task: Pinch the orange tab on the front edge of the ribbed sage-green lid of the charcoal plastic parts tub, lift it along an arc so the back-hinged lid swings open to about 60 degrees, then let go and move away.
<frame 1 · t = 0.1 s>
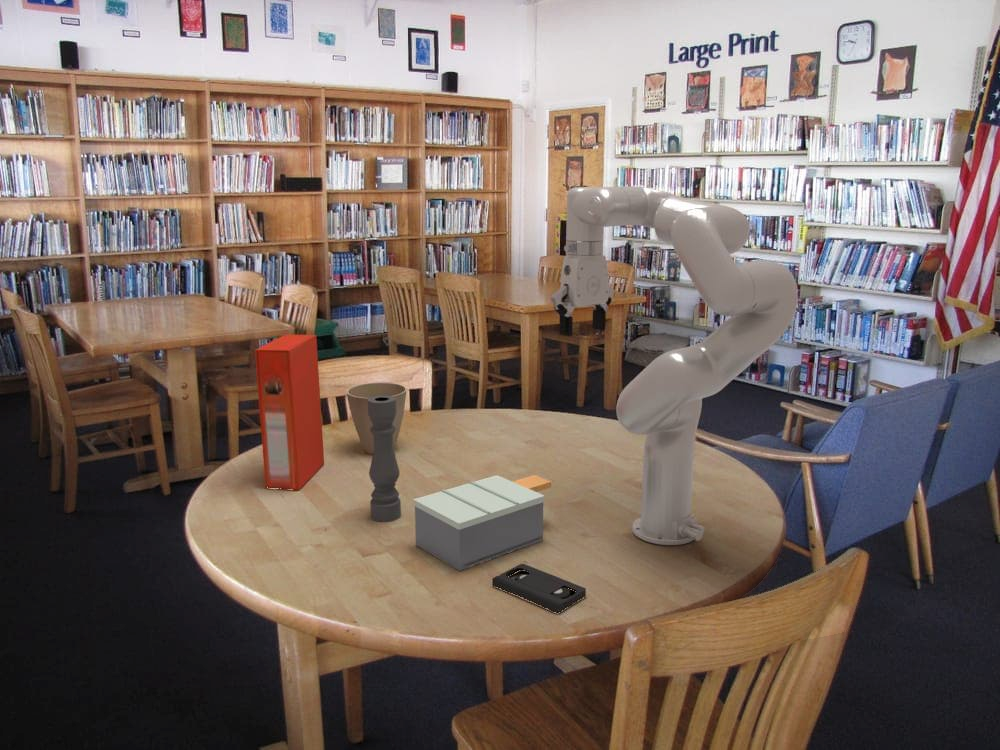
hand: (582, 332, 176), 37 cm above the table, tool pointing down, fingers open, 9 cm apart
vhs tape: (538, 595, 144), on the table
plant pot: (378, 450, 216), on the table
tub: (479, 542, 163), on the table
lid: (491, 496, 163), point 9 cm above the table, hinge at 0.0°
candle holder: (385, 516, 175), on the table
file binder: (295, 477, 198), on the table
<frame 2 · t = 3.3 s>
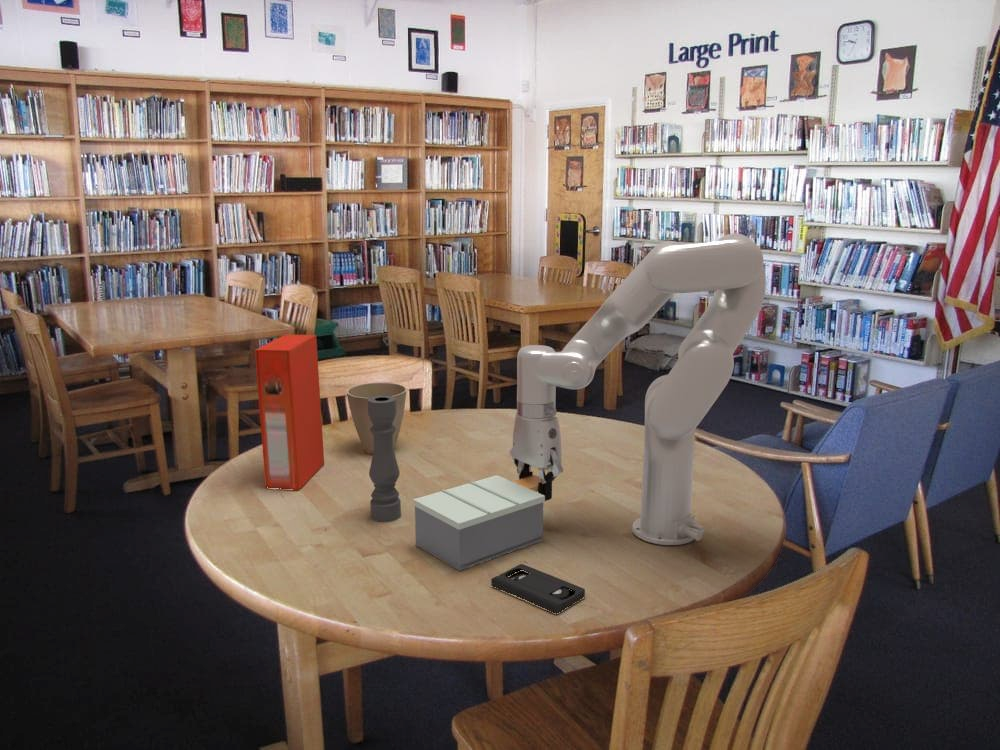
hand: (535, 495, 170), 6 cm above the table, tool pointing down, fingers closed on lid, 5 cm apart
lid: (491, 496, 163), point 9 cm above the table, hinge at 0.0°, touching gripper
everything else where it was.
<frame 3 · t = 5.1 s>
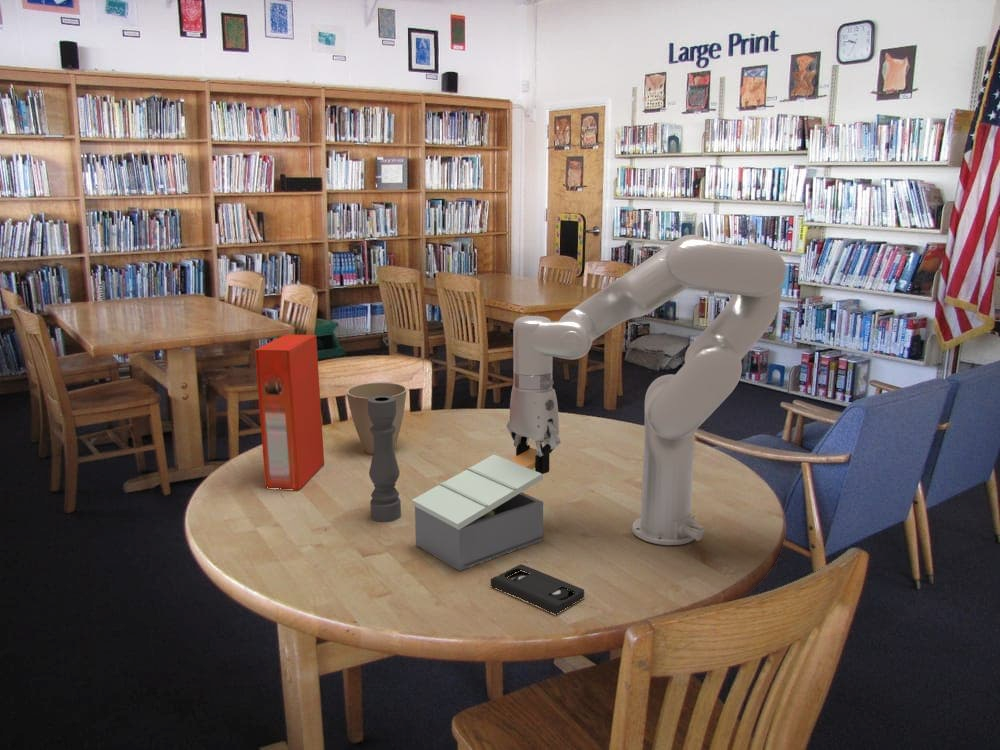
hand: (532, 468, 168), 12 cm above the table, tool pointing down, fingers closed on lid, 5 cm apart
lid: (489, 481, 162), point 12 cm above the table, hinge at 13.2°, touching gripper
everything else where it was.
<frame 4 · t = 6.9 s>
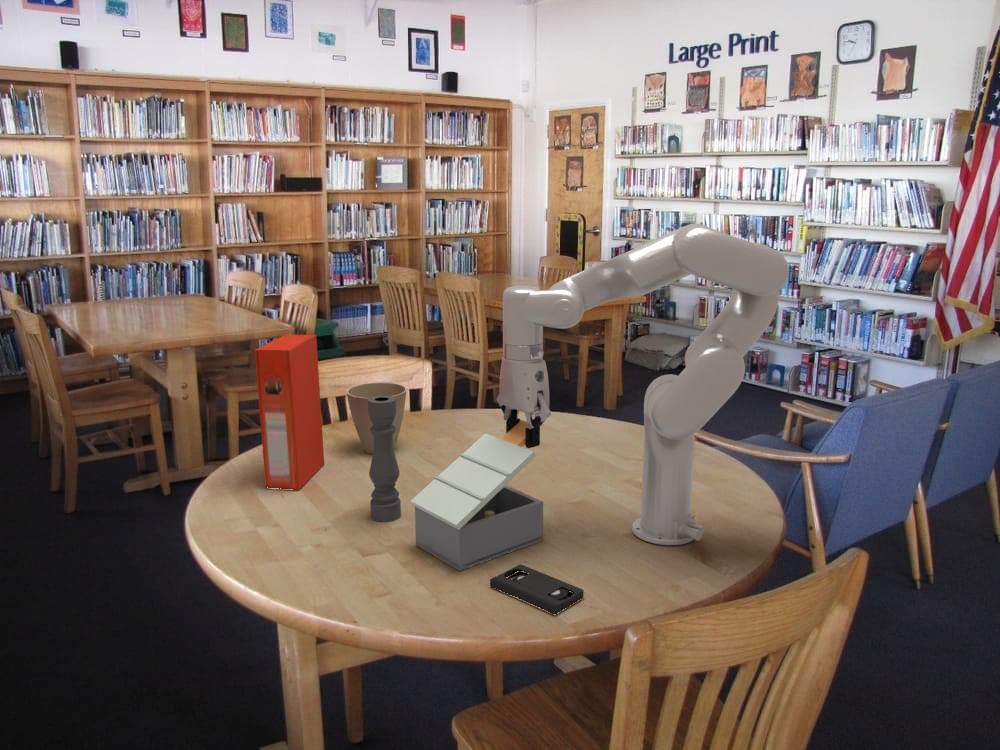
hand: (522, 442, 165), 18 cm above the table, tool pointing down, fingers closed on lid, 5 cm apart
lid: (483, 467, 160), point 15 cm above the table, hinge at 28.2°, touching gripper
everything else where it was.
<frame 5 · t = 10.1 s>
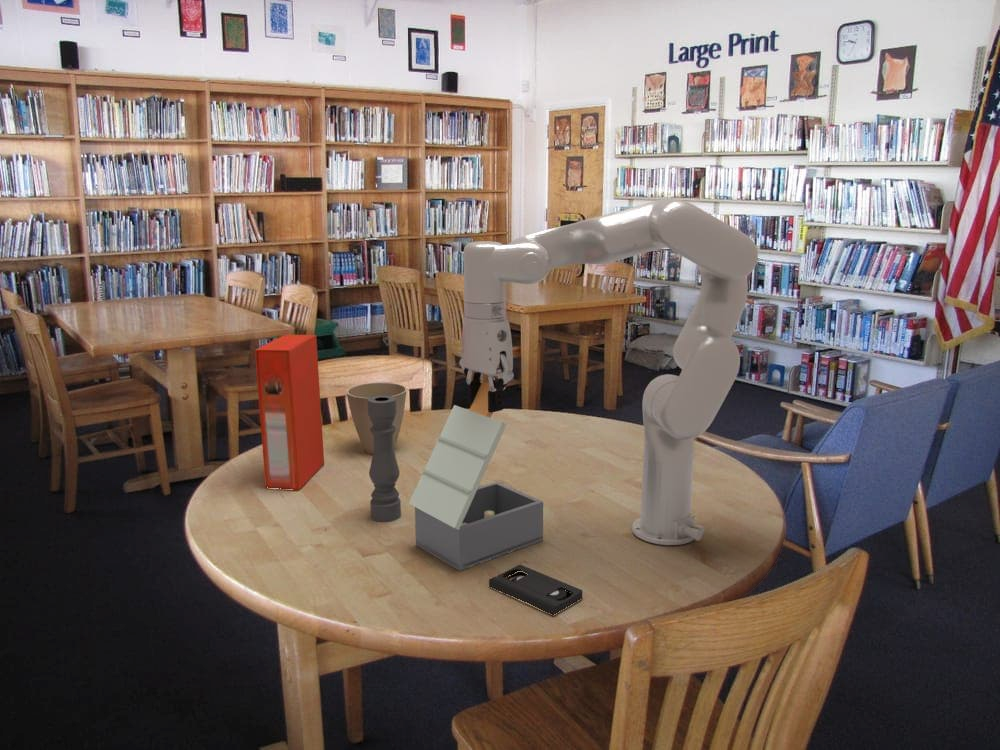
hand: (486, 406, 157), 27 cm above the table, tool pointing down, fingers closed on lid, 5 cm apart
lid: (462, 449, 156), point 20 cm above the table, hinge at 57.8°, touching gripper
everything else where it was.
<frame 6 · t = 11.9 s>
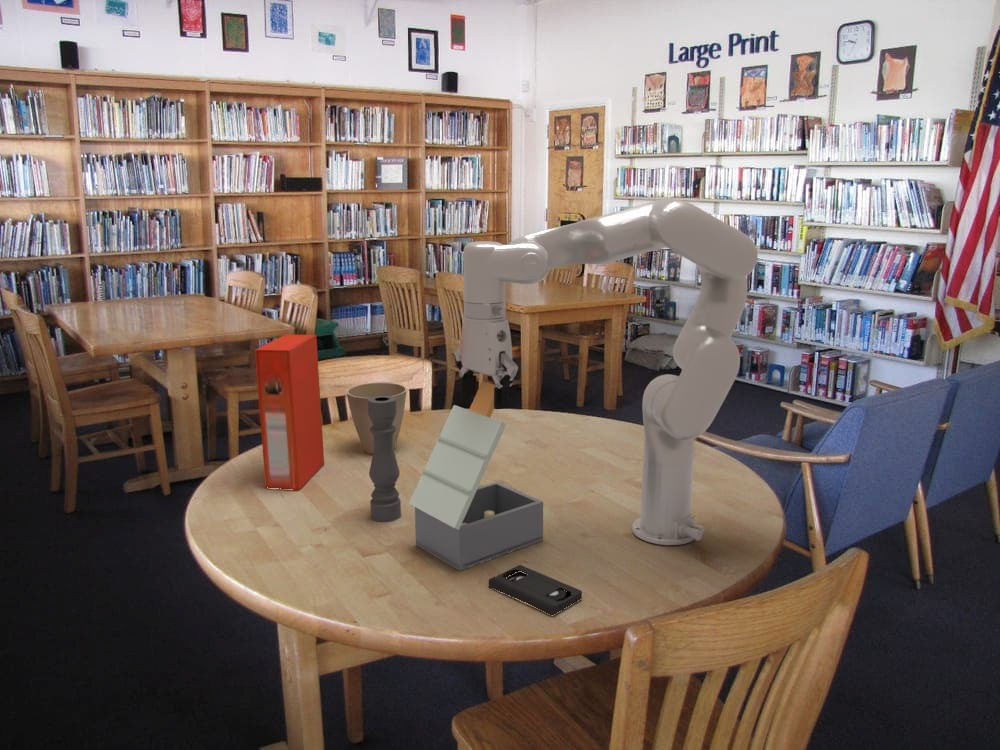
hand: (485, 402, 157), 28 cm above the table, tool pointing down, fingers open, 9 cm apart
lid: (462, 449, 156), point 20 cm above the table, hinge at 58.0°
everything else where it was.
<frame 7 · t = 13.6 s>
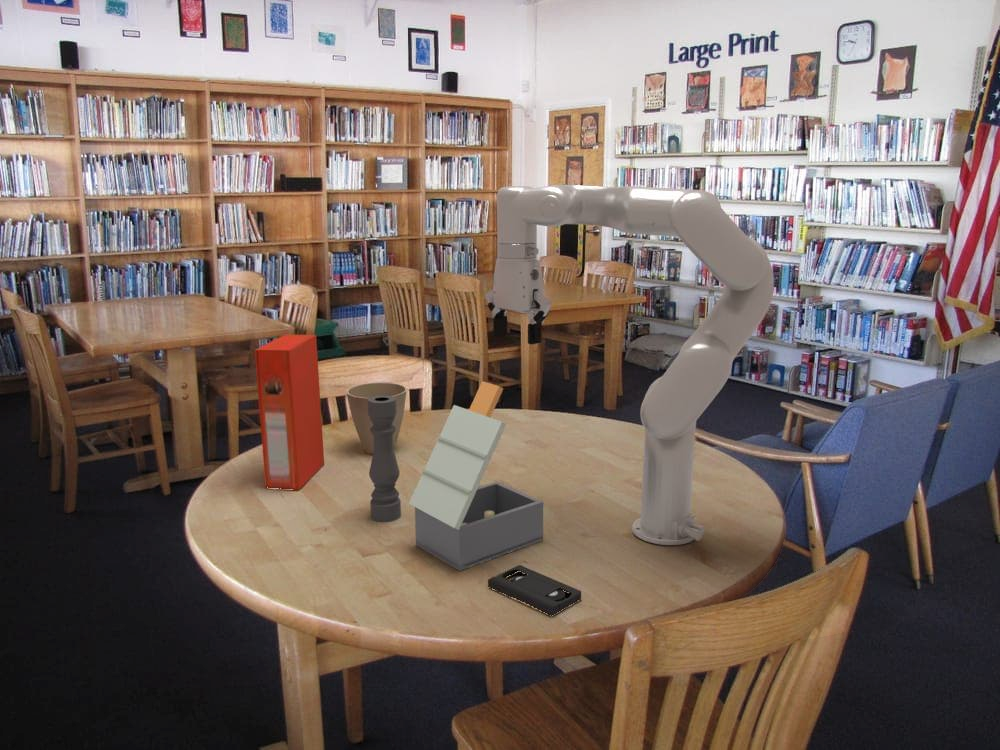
hand: (517, 339, 167), 37 cm above the table, tool pointing down, fingers open, 9 cm apart
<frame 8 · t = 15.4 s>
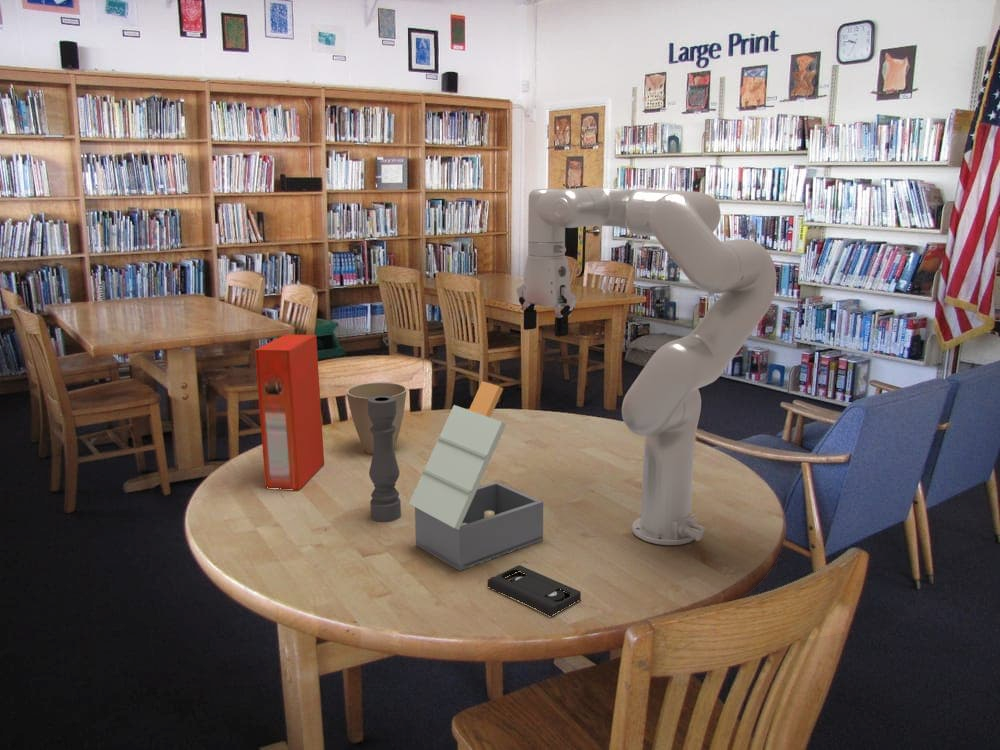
hand: (545, 332, 178), 36 cm above the table, tool pointing down, fingers open, 9 cm apart
at the end: lid at +58° (first picture: +0°); the gripper is holding nothing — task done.
